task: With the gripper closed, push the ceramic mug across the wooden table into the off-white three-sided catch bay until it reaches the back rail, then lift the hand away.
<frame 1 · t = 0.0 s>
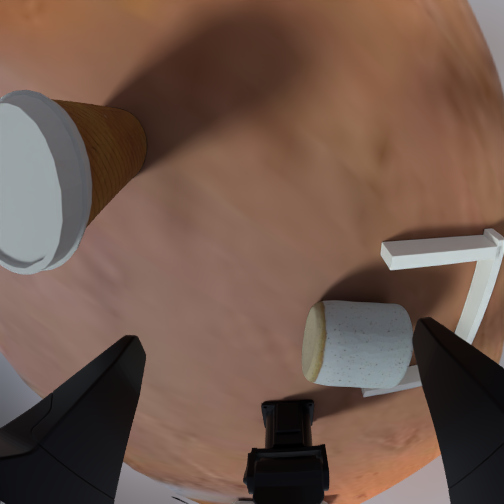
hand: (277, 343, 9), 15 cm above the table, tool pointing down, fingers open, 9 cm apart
catch bay: (418, 318, 26), on the table
disposable coffee cup: (112, 146, 20), on the table
ceramic mug: (344, 326, 27), on the table
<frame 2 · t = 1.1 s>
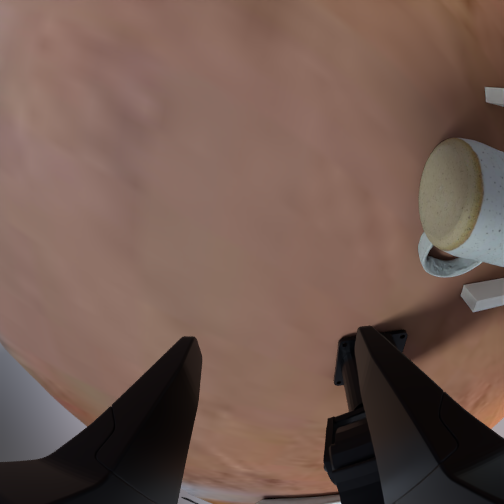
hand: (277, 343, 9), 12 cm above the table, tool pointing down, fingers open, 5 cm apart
square plate: (305, 503, 55), on the table
ceramic mug: (454, 203, 18), on the table
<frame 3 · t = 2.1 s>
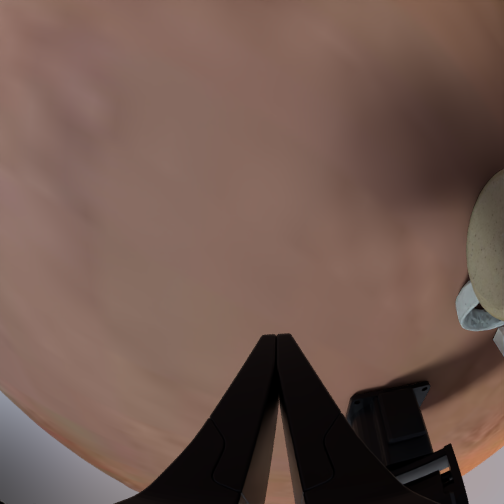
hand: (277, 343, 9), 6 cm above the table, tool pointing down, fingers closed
ceramic mug: (501, 241, 13), on the table
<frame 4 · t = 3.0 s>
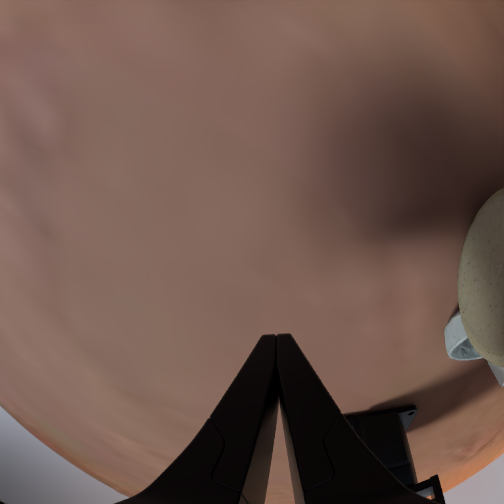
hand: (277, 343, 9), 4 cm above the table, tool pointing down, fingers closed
ceramic mug: (499, 264, 12), on the table
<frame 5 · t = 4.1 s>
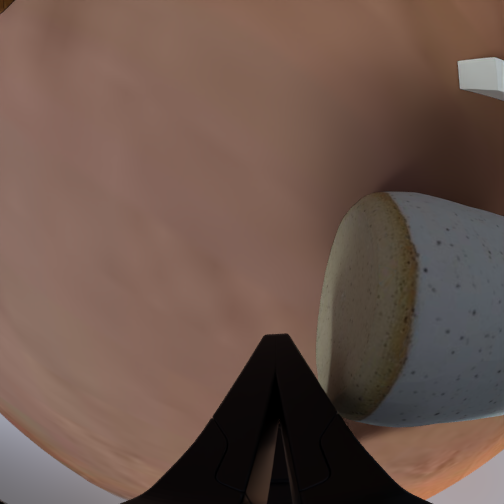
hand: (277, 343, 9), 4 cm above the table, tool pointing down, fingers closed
ceramic mug: (403, 285, 12), on the table, touching gripper
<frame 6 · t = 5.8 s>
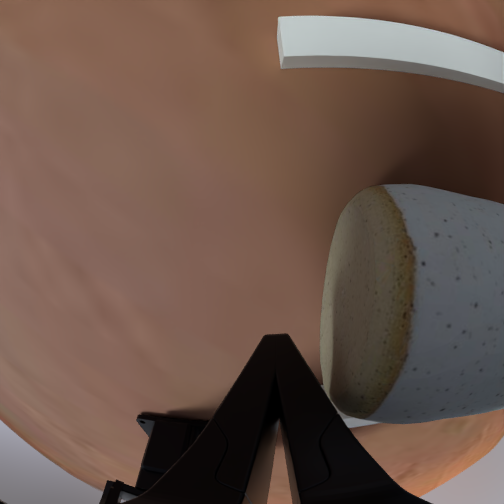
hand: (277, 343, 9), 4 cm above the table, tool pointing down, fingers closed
catch bay: (417, 262, 11), on the table
ceramic mug: (406, 279, 12), on the table, touching gripper
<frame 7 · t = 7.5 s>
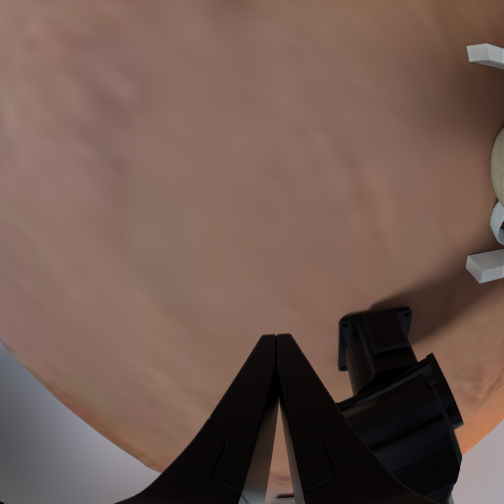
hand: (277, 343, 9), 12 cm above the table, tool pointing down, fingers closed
square plate: (321, 501, 54), on the table
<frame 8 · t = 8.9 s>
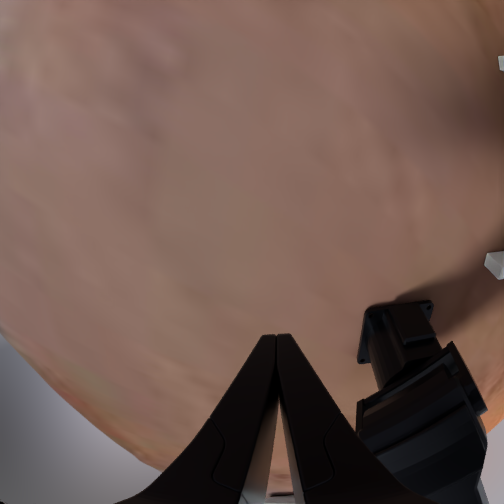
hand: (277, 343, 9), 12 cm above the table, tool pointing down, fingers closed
square plate: (313, 500, 54), on the table
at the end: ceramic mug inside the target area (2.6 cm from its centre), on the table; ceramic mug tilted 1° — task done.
